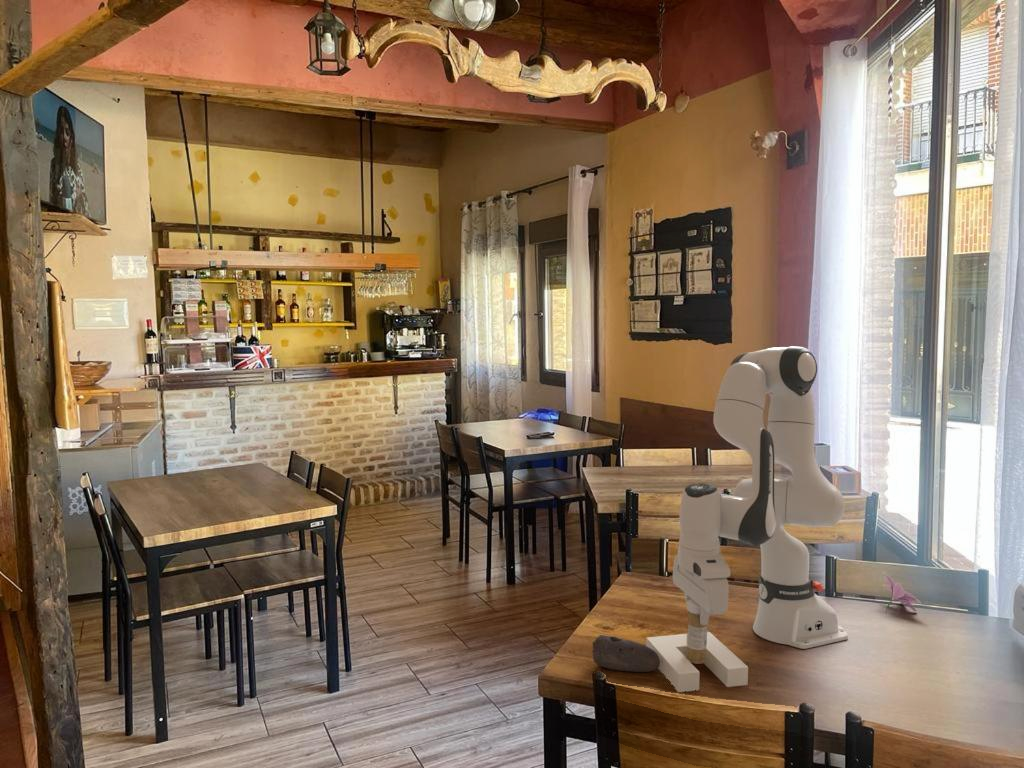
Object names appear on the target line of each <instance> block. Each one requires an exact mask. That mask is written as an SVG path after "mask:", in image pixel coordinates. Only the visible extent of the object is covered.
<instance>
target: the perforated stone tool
mask: <svg viewBox="0 0 1024 768" xmlns="http://www.w3.org/2000/svg"><path fill="white" fill-rule="evenodd" d="M591 653H592V660H593V662H594V664H596V665H597V666H599V667H602V668H606V669H609V670H613V671H622V672H633V673H649V672H653V671H655V670H657V669H658V666H659V665H660V660H659V656H658V654H657V653H656V652H655V651H654V650H652V649H651V648H649V647H647V646H646V644H642V643H639V642H638V641H633V640H630V639H626V638H622V637H618V636H617V637H616V636H612V635H611V636H610V635H603V634H600V635H599V636H597V637H596V639H595V640H594V641H593V642H592V651H591Z"/></svg>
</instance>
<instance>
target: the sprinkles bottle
mask: <svg viewBox="0 0 1024 768" xmlns="http://www.w3.org/2000/svg"><path fill="white" fill-rule="evenodd" d="M687 610H688V612H687V623H686V625H687V627H686V634H687V640H686V644H687V650H686V658H687V659H688V660H689V661H690V663H691V664H696V665H697V664H698V665H699V664H700V665H701V664H704V662H706V647H707V632H708V624H707V625H701V624H700V623H699V622H698V615H700V614H701V610H700V605H699V604H697V603H696V602H695V601H694V600H693V599H691V600H689V601H688V602H687V603H686V611H687Z"/></svg>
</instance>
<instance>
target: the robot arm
mask: <svg viewBox="0 0 1024 768" xmlns="http://www.w3.org/2000/svg"><path fill="white" fill-rule="evenodd" d="M817 373H818V364H817V361H816V358H815V356H814V355H813V353H812V352H811V350H810V349H808V348H806V347H803V346H794V345H790V346H787V347H786V346H779V347H768V348H766V349H760V350H755V351H752V352H750V351H749V352H748V351H747V352H744V353H741V354H739V355H738V356H735V357H734V358H733V360H732V361H731V363H730V365H729V367H728V368H727V370H726V371H725V374H724V376H723V379H722V382H721V383H720V386H719V390H718V394H717V397H716V401H715V402H716V403H715V405H714V410H713V422H712V423H713V426H714V428H715V430H716V432H717V434H718V435H719V436H720V437H721V438H722V439H724V440H725V441H726V442H728V443H729V444H731V445H733V446H735V447H737V448H739V449H740V450H742V451H743V452H745V453H747V454H748V455H749V457H750V458H751V462H752V469H751V470H752V474H751V476H752V477H750V478H745V479H744V478H743V479H741V480H740V481H739V482H738V483H737V484H736V486H735V488H734V490H733V494H732V495H731V494H726V493H722V492H719V489H718V487H717V486H716V485H714V484H711V483H707V482H696V483H692V484H689V485H686V487H685V488H684V489H683V491H682V495H681V500H680V508H679V518H678V519H679V522H678V524H679V529H680V537H679V540H678V550H677V554H676V555H675V557H674V559H673V567H672V568H673V569H672V581H673V583H674V585H675V586H676V587H678V588H679V589H680V590H681V591H682V592H683V593H684V599H685V602H686V604H687V602H688V601H689V600H691V599H693V600H694V601H695V602H696V603H697V604H699V605H700V610H701V614H700V615H698V622H699V623H700V624H701V625H707V626H708V625H709V621H710V619H709V618H710V617H711V616H718V615H719V616H720V615H724V614H725V613H727V611H728V608H729V607H728V606H729V593H730V586H729V581H728V579H727V578H730V577H731V567H730V566H729V565H728V563H727V561H726V560H725V559H724V556H723V554H722V553H721V543H720V539H719V537H720V538H726V539H729V540H735V541H739V542H741V543H744V544H748V545H752V546H755V547H758V546H759V547H760V557H761V558H760V559H761V561H760V562H761V564H760V565H761V573H760V574H759V581H758V595H759V596H758V597H759V599H758V605H757V606H758V607H757V612H756V615H755V616H756V617H755V618H754V623H753V625H752V630H753V632H754V633H755V634H756V635H757V636H759V637H760V638H762V639H764V640H766V641H769V642H772V643H777V644H783V645H786V646H787V645H788V646H792V647H795V648H797V649H804V650H807V649H810V648H814V647H819V646H823V645H824V646H825V645H828V644H832V643H836V642H841V641H845V640H848V639H849V636H848V632H847V631H846V629H845V628H843V626H841V625H840V624H839V622H838V616H837V613H836V611H835V609H834V608H833V607H832V606H831V605H829V604H828V603H827V602H826V601H825V600H823V599H822V598H821V597H820V596H818V595H817V594H816V593H815V591H817V592H819V593H821V592H822V591H823V590H824V585H823V584H822V583H819V581H813V579H811V578H810V577H809V575H810V573H809V572H810V571H809V570H810V552H809V549H808V547H807V546H806V545H805V544H804V543H803V542H802V541H801V540H800V539H797V537H794V536H792V535H791V534H790V533H788V532H787V531H786V529H785V528H784V525H790V526H799V527H808V528H809V527H810V528H824V527H825V528H826V527H834V526H836V525H838V523H839V522H840V521H841V520H842V518H843V516H844V513H845V509H846V508H845V507H846V505H845V504H846V503H845V500H844V496H843V494H842V493H841V491H840V490H839V488H837V487H836V486H835V485H834V484H832V483H831V482H830V481H829V480H828V479H827V478H826V476H825V475H824V473H823V472H822V471H821V469H820V467H819V465H818V462H817V457H816V450H815V448H816V447H815V429H816V428H815V427H816V426H815V425H816V423H815V422H816V421H815V420H816V418H815V415H816V411H815V402H814V396H813V390H812V386H813V384H814V382H815V381H816V377H817ZM767 394H768V395H769V398H770V401H769V407H768V415H767V427H766V428H765V425H764V424H765V423H764V411H765V406H766V399H767ZM775 462H776V463H777V464H779V465H781V466H783V467H784V468H786V469H788V470H789V471H790V472H791V475H792V477H791V478H790V479H789V478H788V479H783V478H775ZM686 611H687V613H688V610H687V609H686Z"/></svg>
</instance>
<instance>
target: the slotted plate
mask: <svg viewBox="0 0 1024 768" xmlns="http://www.w3.org/2000/svg"><path fill="white" fill-rule="evenodd" d="M645 639H646V640H645V646H647V647H649V648H651V649H652V650H654V651H655V652H656V653H657V654H658V656H659V660H660V665H659V666H658V668H657V669H658V671H659V672H661V674H662V673H663V674H664V675H665V676H666V677H665V676H664V675H663V674H662V675H663V676H664V677H665V678H666V680H667V679H668V680H669V681H670V682H671V683H670V682H669V681H668V680H667V681H668V682H669V683H670V685H671V686H672V685H673V686H674V687H675V688H674V687H673V686H672V687H673V688H674V689H675V691H677V693H684V692H685V691H686V692H696V691H700V671H699V670H698V669H697V668H696V667H695V665H693V663H691V662H690V661H689V660H688V659H687V658H686V650H687V644H686V640H687V633H680V634H669V635H658V636H657V635H656V636H648V637H646V638H645ZM703 664H704V665H705V666H706V667H707V668H708V669H709V670H710V671H711V672H712V673H713V674H714V675H715V677H716V678H718V679H719V680H720V681H721V682H722V683H723V684H724V685H725V686H726V687H727V688H732V687H733V688H734V687H740V686H749V685H748V684H749V682H748V681H749V679H748V678H749V666H748V665H746V664H745V663H744V662H743V661H742V660H741V659H740V658H739V657H738V656H737V655H736V654H734V653H733V651H731V650H730V649H729V648H728V647H727V646H726V645H724V643H722V642H721V641H720V640H719V639H718V638H717V637H716V636H715V635H714V634H712V632H710V631H707V647H706V662H704V663H703ZM695 690H696V691H695Z"/></svg>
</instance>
